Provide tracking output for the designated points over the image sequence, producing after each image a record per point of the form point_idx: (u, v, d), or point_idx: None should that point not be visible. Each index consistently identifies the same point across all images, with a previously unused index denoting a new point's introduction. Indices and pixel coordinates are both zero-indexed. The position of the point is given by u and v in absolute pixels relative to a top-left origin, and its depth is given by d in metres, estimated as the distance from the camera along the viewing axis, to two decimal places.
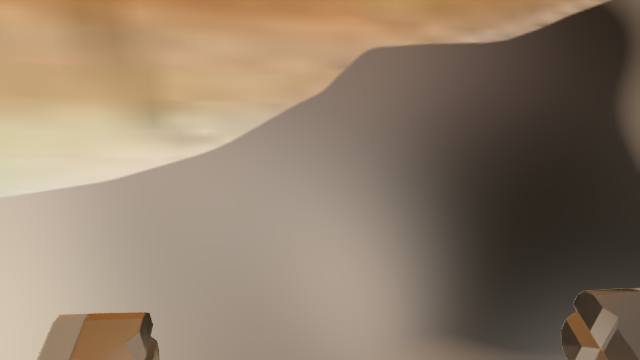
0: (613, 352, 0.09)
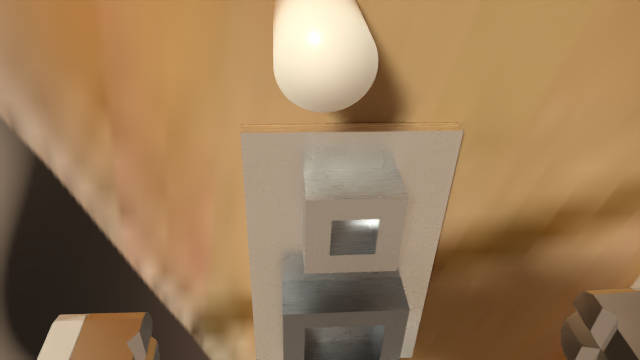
0: (612, 352, 0.09)
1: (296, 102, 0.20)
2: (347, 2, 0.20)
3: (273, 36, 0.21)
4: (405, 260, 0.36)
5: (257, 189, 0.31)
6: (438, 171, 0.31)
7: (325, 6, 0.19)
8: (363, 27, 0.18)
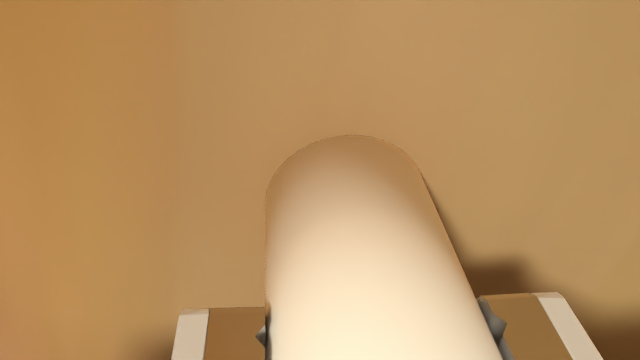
0: None
1: None
2: None
3: None
4: None
5: None
6: None
7: None
8: None
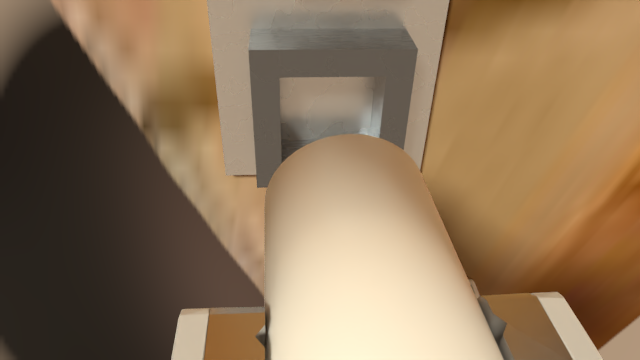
0: None
1: None
2: None
3: None
4: None
5: None
6: None
7: None
8: None
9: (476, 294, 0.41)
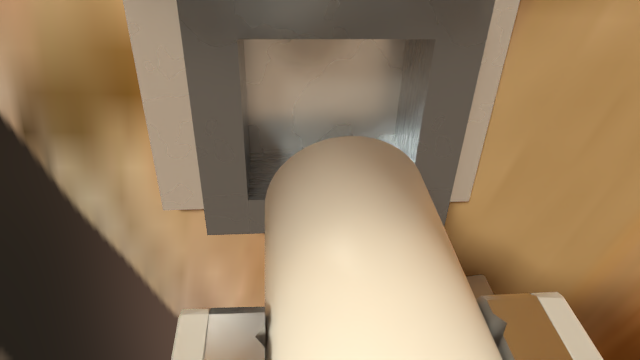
0: None
1: None
2: None
3: None
4: None
5: None
6: None
7: None
8: None
9: None
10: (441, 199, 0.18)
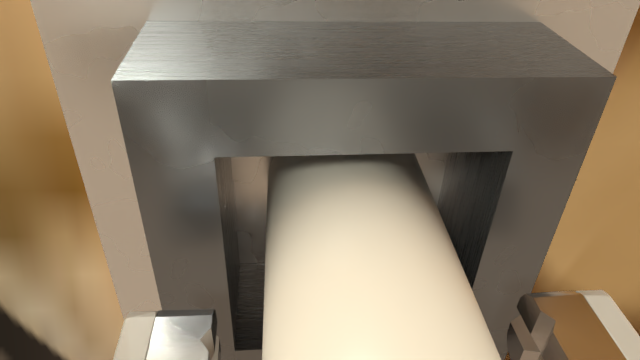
0: (549, 356, 0.09)
1: None
2: (455, 311, 0.08)
3: (262, 344, 0.09)
4: None
5: None
6: None
7: None
8: None
9: None
10: (500, 341, 0.13)
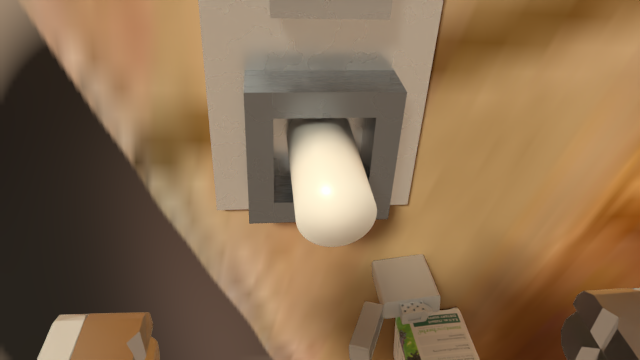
0: (612, 352, 0.09)
1: (312, 241, 0.25)
2: (351, 162, 0.25)
3: (291, 181, 0.27)
4: (400, 42, 0.28)
5: None
6: None
7: (336, 173, 0.24)
8: (365, 190, 0.24)
9: (462, 322, 0.42)
10: (385, 202, 0.31)
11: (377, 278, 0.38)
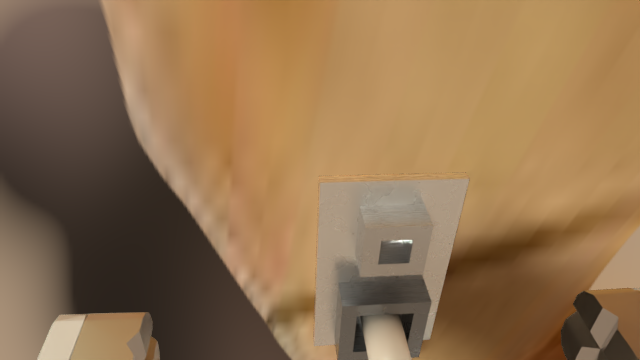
0: (613, 352, 0.09)
1: None
2: (401, 345, 0.47)
3: (367, 351, 0.48)
4: (427, 266, 0.49)
5: (327, 219, 0.45)
6: (452, 205, 0.45)
7: (394, 357, 0.45)
8: None
9: None
10: (417, 349, 0.52)
11: None
